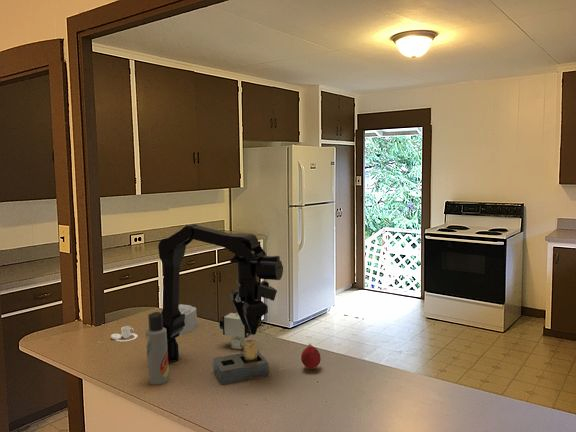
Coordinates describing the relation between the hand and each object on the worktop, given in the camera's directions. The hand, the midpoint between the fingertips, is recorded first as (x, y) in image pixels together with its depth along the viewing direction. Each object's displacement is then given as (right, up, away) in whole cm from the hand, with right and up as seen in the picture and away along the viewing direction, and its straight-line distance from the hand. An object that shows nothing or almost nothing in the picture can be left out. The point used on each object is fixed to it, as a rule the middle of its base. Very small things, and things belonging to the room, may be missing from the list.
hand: (249, 329), depth 145 cm
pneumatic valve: (-5, -11, +21) cm, 24 cm away
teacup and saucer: (-49, -11, +35) cm, 61 cm away
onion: (+18, -13, +2) cm, 22 cm away
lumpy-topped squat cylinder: (-29, -9, +39) cm, 50 cm away
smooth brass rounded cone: (0, -13, +1) cm, 13 cm away
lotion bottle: (-26, -14, -3) cm, 30 cm away
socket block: (-2, -13, 0) cm, 13 cm away
